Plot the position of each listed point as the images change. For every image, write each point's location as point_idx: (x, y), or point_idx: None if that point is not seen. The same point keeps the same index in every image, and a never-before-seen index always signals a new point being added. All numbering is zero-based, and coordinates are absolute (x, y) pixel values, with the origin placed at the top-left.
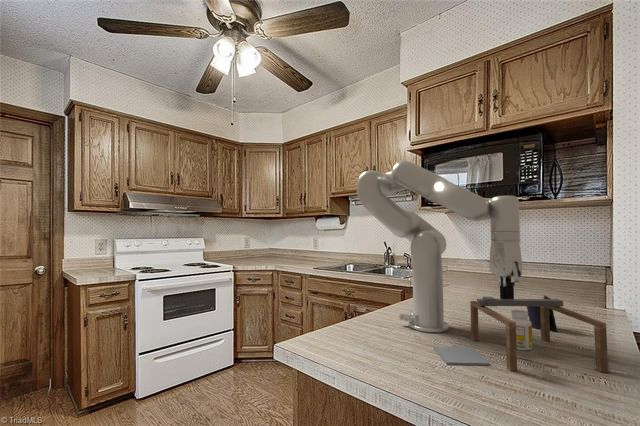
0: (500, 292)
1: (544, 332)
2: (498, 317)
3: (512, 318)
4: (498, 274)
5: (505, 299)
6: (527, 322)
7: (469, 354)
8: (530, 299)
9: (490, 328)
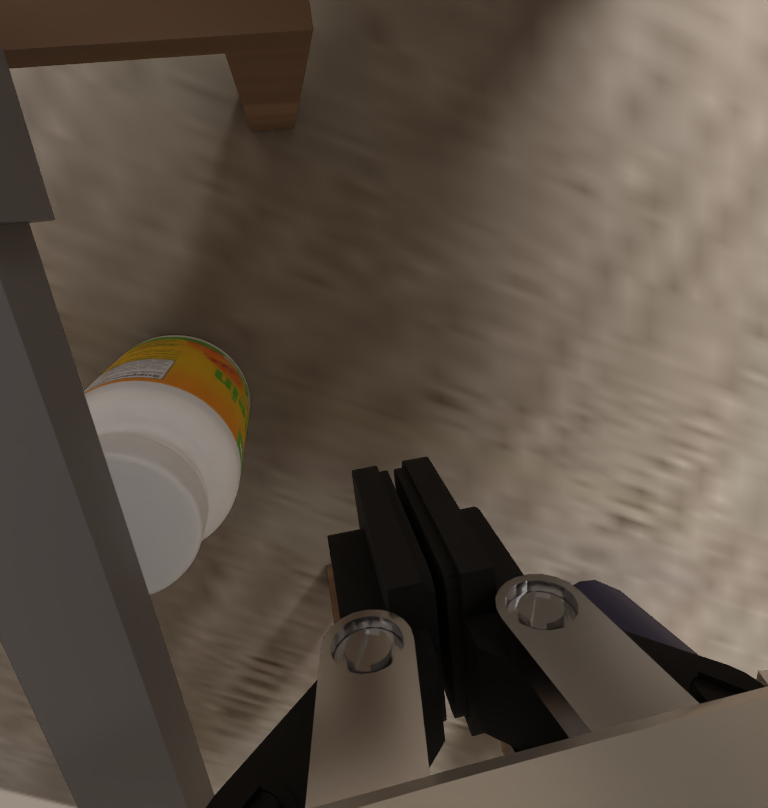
0: (437, 500)
1: (332, 602)
2: None
3: (122, 426)
4: (425, 801)
5: (11, 449)
6: None
7: None
8: (142, 753)
9: (556, 330)
